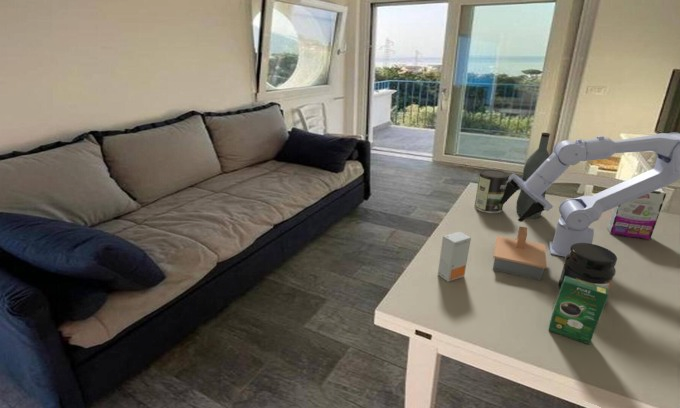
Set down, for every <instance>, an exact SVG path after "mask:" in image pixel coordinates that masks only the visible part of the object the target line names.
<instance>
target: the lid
mask: <svg viewBox="0 0 680 408" xmlns="http://www.w3.org/2000/svg"><path fill="white" fill-rule="evenodd" d="M527 236H528V227H527V226H526V227H525V226H518V231H517V237H516V238H512V237H506V236H501V235H496V238H495V244H494V251H493V255H492V256H493V257H492V258H493V259H495V258H497V259H502V260H507V261H512V262H516V263H521V264H526V265H531V266H535V267H540V268H544V269H546V270H547V268H548V267H547V266H548V265H547V264H548V263H547V254H546V244H544V243H539V242H532V241H528V240H527Z"/></svg>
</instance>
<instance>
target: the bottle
mask: <svg viewBox="0 0 680 408" xmlns="http://www.w3.org/2000/svg"><path fill="white" fill-rule="evenodd" d="M550 135H551V133H549V132H541V136H540V141H539V144H538V148H537V149H536V150H535V151H534V152H533V153H532V154H531V155H530V156H529V157H528V158H527V159H526V162H525V164H524V167H523V171H522V178H521V179H522V180H523V181H525V182H526V181H527V179H528V178H529V177H530V176H531V175H532V174H533V173H534V172H535V171H536V170H537V169H538V168H539V167H540V166H541V165H542V164H543V162H544V161H545V160H546V159H547V158H548V157H549V156H550V153H549V152H548V145H549V140H550ZM546 192H547V190H546V191H545V192H544V193H543V194H542V196H543V197H544V198H545V199H546ZM531 195H532V194H531ZM532 196H533V195H532ZM533 197H534V196H533ZM533 203H537V202H536V201H535V200H534V199H533V198H531V197H530V196H529V195H528V194H527V193H526V192H524V191H523V190H522V189H521V188H520V192H519V194H518V197H517V200H516V207H515V208H516V210H515V211H516V213H517V214H518V215H519V216H520V217H521V216H522V215H523V214H524V213H525V212H526V211H527V210H528V209H529V208H530V206H531V205H532V204H533ZM542 213H543V211H541V212H539V213H536V214H534V215H532V216H530V217H528V218H527V219H536V218H539V217H540V216H541V215H542Z"/></svg>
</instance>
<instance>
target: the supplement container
mask: <svg viewBox="0 0 680 408" xmlns="http://www.w3.org/2000/svg"><path fill="white" fill-rule="evenodd" d="M617 261H618V257H617V255H616V254H615V253H614V252H613V251H612V250H610V249H608V248H606V247H604V246H601V245H598V244H594V243H592V244H589V243H576V244H573V245H572V246H571V248H570V251H569V255H567V256H566V257H564V263H563V267H562V270H561V274H560V278H559V280H558V286H557V287H558V288H559V290H560V289H561V286H562V283H563V280H564V277H565V276H567V277H571V278H574V279H577V280H581V281H584V282H588V283H591V284H594V285H598V286H601V287H605V288H608V292H609V291H610V289H611V285H612V282H613V279H614V277H615V275H616V272H617V271H616V268H615V266H616V265H617Z"/></svg>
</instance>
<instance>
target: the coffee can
mask: <svg viewBox="0 0 680 408" xmlns="http://www.w3.org/2000/svg"><path fill="white" fill-rule="evenodd" d="M478 174H479V175H478V182H477V188H476V194H475V200H474V205H473V207H474V208H475V210H477V211H479V212H483V213H487V214H499V213H501V212H503V207H504V204H500V203H499V202H500V200H501V199H502V197H503V195H504V192H505V190H506V186H507V183H508V182H509V179H508V178H509V177H510V174H509V173H508V172H506V171H503V170H499V169H491V168H490V169H487V168H485V169H481V170H480V171H479V173H478Z"/></svg>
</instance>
